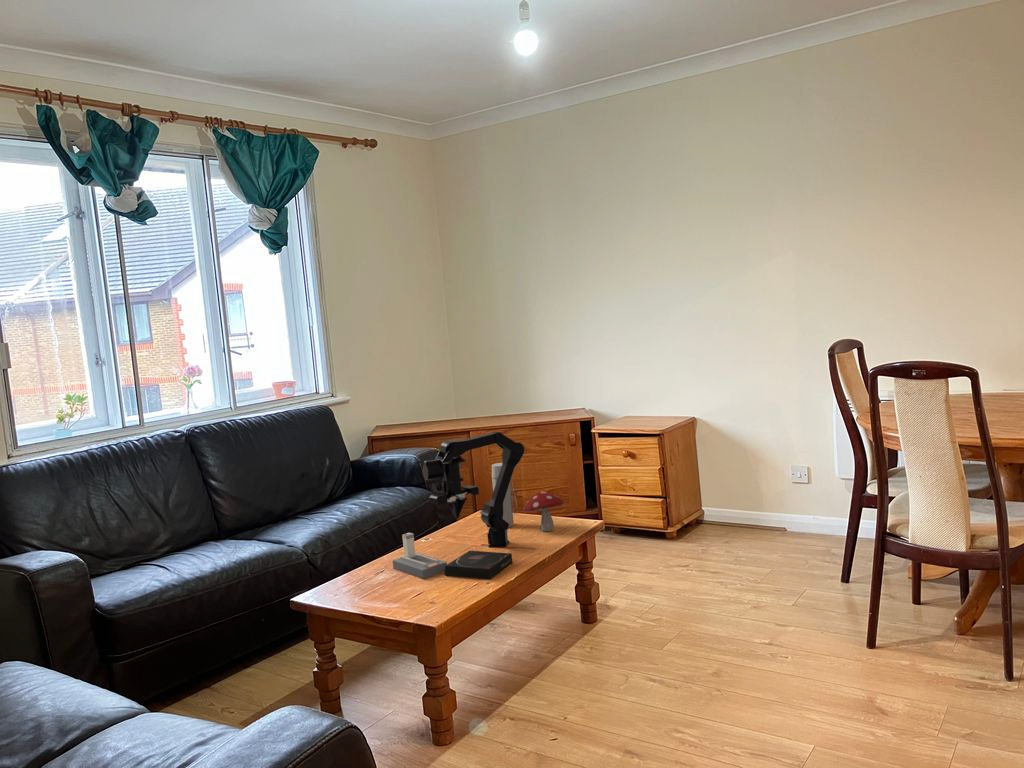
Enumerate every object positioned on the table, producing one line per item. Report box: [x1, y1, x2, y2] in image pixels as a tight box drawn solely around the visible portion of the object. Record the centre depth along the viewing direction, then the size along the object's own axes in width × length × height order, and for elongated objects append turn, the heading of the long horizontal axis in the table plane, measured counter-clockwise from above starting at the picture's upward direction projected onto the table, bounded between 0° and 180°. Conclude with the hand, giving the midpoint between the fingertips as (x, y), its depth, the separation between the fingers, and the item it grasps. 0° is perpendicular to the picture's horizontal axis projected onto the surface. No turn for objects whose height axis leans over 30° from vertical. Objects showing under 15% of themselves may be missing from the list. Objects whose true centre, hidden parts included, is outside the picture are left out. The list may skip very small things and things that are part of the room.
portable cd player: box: [443, 550, 514, 581], centre depth 268 cm, size 16×17×4 cm
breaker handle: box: [401, 532, 416, 558], centre depth 277 cm, size 3×3×8 cm
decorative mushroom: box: [522, 491, 565, 532], centre depth 307 cm, size 16×16×15 cm
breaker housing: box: [392, 552, 448, 580], centre depth 273 cm, size 10×18×4 cm, turn 41°
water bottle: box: [491, 462, 518, 528], centre depth 318 cm, size 9×8×25 cm
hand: (456, 518), depth 286 cm, fingers closed
